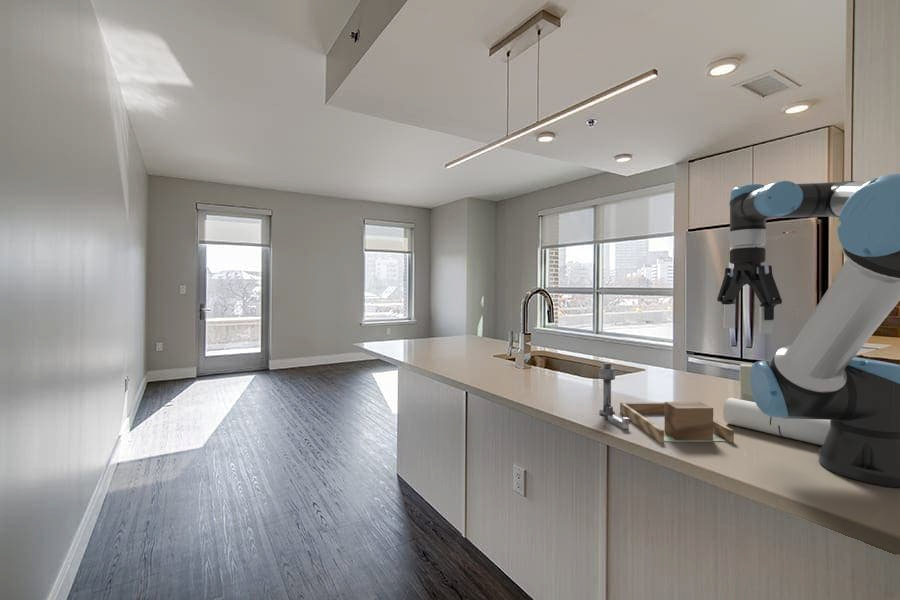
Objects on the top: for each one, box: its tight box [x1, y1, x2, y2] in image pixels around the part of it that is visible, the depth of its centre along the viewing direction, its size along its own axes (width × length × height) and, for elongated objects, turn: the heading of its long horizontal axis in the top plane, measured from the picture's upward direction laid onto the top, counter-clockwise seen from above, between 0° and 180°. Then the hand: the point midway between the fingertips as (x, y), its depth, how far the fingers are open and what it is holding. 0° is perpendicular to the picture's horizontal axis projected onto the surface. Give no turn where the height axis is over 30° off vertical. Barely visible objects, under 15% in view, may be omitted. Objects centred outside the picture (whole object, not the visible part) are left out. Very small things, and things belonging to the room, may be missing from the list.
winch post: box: [598, 362, 616, 417], centre depth 127 cm, size 4×4×15 cm
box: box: [739, 363, 755, 402], centre depth 136 cm, size 5×4×13 cm
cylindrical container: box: [722, 397, 830, 447], centre depth 108 cm, size 7×7×25 cm
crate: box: [663, 401, 714, 440], centre depth 108 cm, size 6×9×8 cm, turn 89°
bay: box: [619, 402, 735, 444], centre depth 116 cm, size 25×18×3 cm
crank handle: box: [605, 405, 631, 430], centre depth 118 cm, size 10×2×4 cm, turn 9°
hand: (746, 331), depth 108 cm, fingers open, 13 cm apart
